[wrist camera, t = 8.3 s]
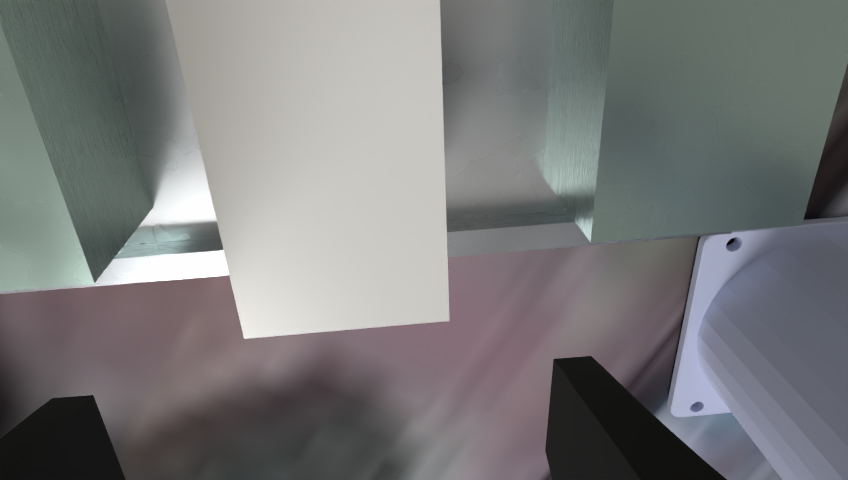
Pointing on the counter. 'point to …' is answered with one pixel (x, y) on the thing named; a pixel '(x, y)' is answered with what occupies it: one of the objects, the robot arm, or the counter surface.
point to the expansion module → (322, 157)
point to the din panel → (463, 130)
